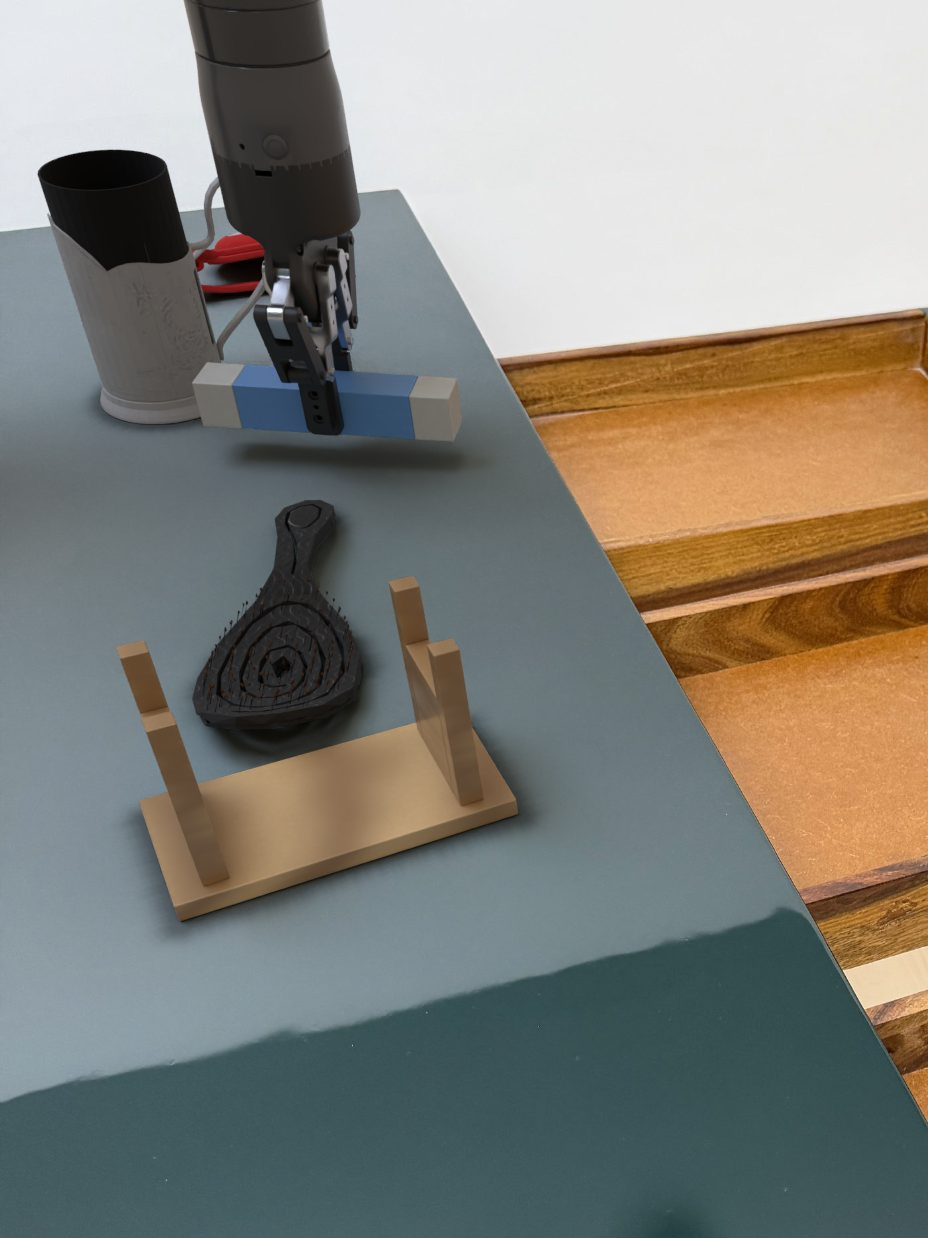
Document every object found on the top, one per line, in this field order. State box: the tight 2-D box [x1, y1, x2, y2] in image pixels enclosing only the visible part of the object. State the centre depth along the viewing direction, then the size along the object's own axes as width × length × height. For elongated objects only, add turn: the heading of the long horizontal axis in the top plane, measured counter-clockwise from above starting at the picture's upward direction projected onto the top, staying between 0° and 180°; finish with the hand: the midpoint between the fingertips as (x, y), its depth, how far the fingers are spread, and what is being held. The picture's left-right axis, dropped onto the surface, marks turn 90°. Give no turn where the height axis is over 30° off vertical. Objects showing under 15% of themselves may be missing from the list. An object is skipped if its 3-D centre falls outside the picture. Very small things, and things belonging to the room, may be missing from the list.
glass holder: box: [37, 149, 266, 425], centre depth 95 cm, size 9×14×15 cm, turn 123°
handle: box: [192, 362, 463, 443], centre depth 91 cm, size 16×3×3 cm, turn 91°
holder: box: [115, 575, 519, 922], centre depth 65 cm, size 16×8×10 cm, turn 120°
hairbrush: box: [191, 499, 364, 731], centre depth 79 cm, size 8×4×25 cm
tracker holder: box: [192, 231, 264, 294], centre depth 112 cm, size 12×4×10 cm
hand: (333, 418), depth 92 cm, fingers closed on handle, 3 cm apart
